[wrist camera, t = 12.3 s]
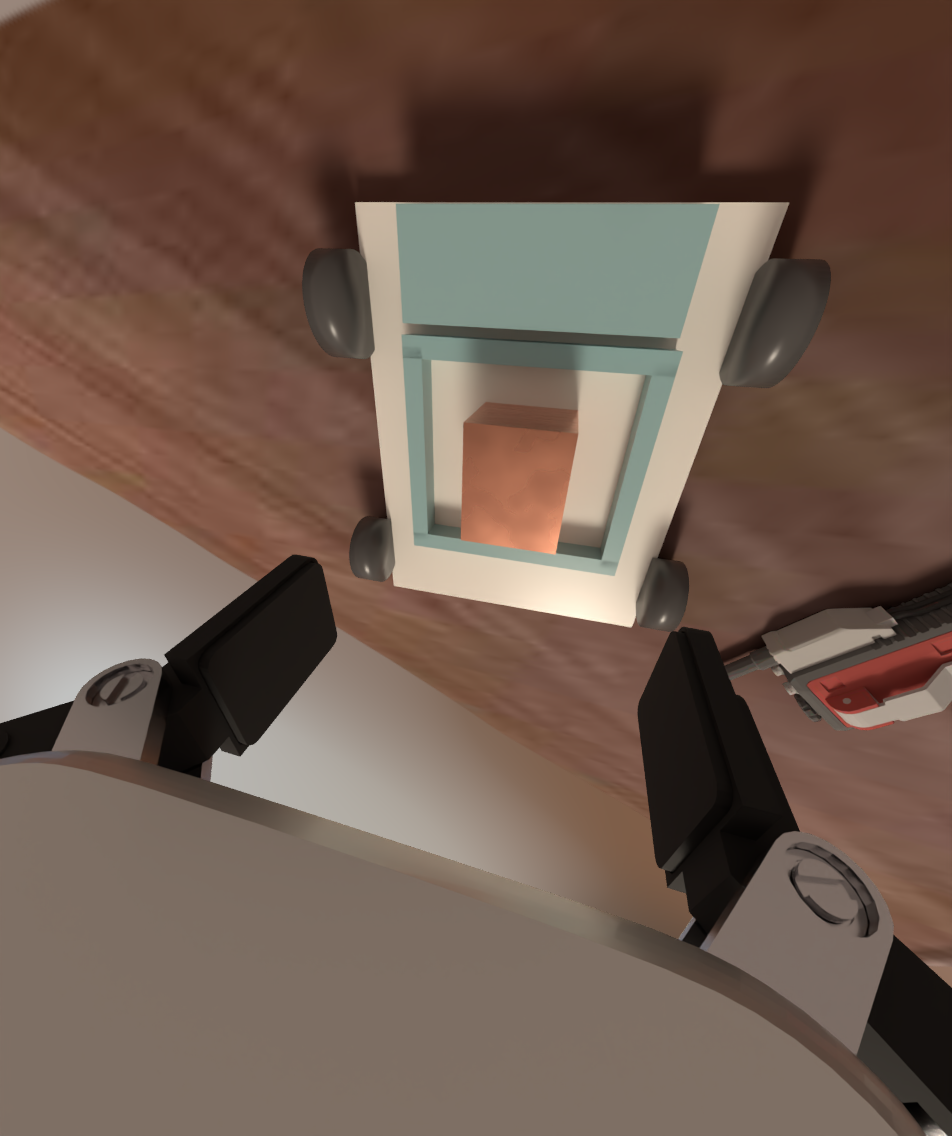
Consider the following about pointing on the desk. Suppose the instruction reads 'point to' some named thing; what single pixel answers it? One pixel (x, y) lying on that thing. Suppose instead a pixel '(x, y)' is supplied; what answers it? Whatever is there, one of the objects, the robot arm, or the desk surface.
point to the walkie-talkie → (864, 662)
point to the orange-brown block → (516, 475)
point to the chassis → (557, 375)
